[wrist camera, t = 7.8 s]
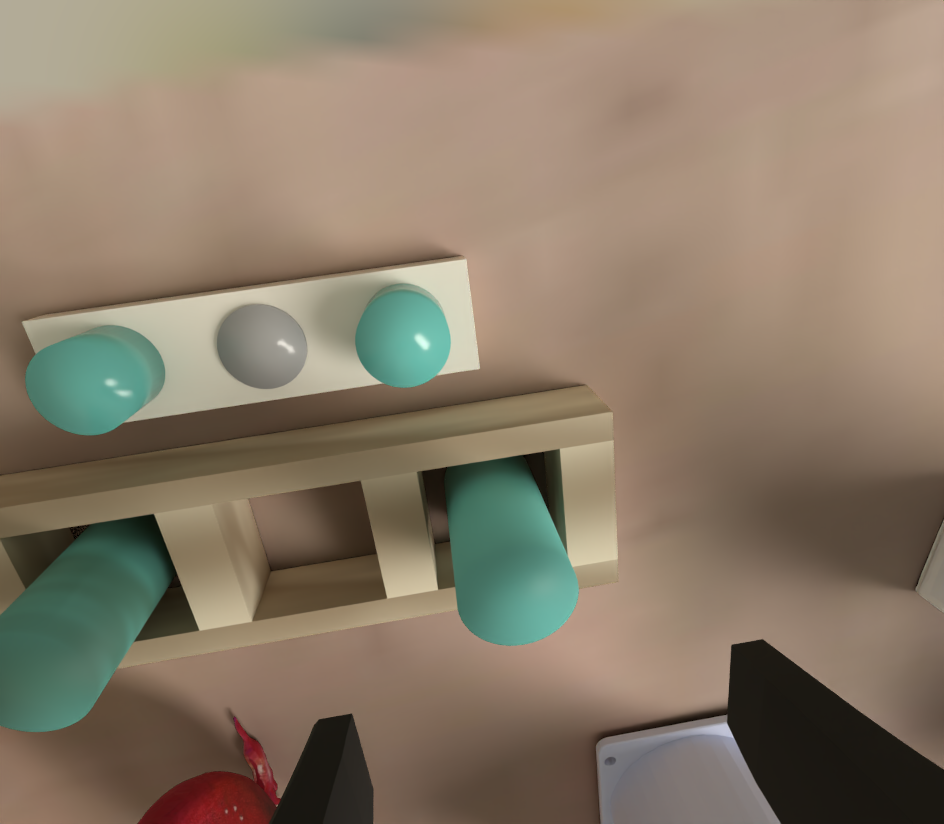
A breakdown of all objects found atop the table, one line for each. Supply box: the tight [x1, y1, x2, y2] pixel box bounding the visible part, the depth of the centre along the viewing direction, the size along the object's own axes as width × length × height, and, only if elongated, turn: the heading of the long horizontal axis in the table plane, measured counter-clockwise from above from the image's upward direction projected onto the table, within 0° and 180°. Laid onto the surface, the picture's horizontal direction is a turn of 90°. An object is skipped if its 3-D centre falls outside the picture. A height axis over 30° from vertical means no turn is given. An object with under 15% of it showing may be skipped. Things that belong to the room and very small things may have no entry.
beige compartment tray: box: [0, 385, 618, 732], centre depth 16 cm, size 6×19×6 cm, turn 97°
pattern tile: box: [22, 256, 480, 435], centre depth 15 cm, size 3×12×3 cm, turn 97°
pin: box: [444, 455, 579, 646], centre depth 16 cm, size 3×3×6 cm
